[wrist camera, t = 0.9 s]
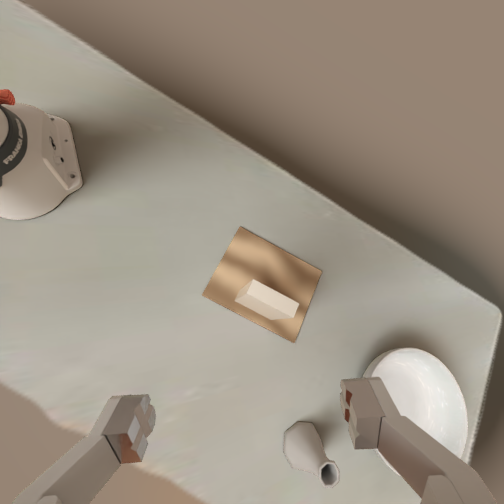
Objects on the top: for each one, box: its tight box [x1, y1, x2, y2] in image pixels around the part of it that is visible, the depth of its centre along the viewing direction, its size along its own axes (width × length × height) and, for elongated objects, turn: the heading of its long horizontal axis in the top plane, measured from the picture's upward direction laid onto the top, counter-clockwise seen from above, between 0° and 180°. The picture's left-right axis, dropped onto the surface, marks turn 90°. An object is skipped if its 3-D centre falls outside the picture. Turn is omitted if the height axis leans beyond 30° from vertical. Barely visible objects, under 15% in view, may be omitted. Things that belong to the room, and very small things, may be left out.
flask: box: [283, 422, 339, 488], centre depth 41 cm, size 7×7×10 cm
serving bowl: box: [362, 347, 468, 477], centre depth 48 cm, size 21×21×7 cm
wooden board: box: [202, 227, 322, 343], centre depth 52 cm, size 16×20×1 cm
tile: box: [235, 279, 299, 320], centre depth 44 cm, size 2×8×12 cm, turn 65°
